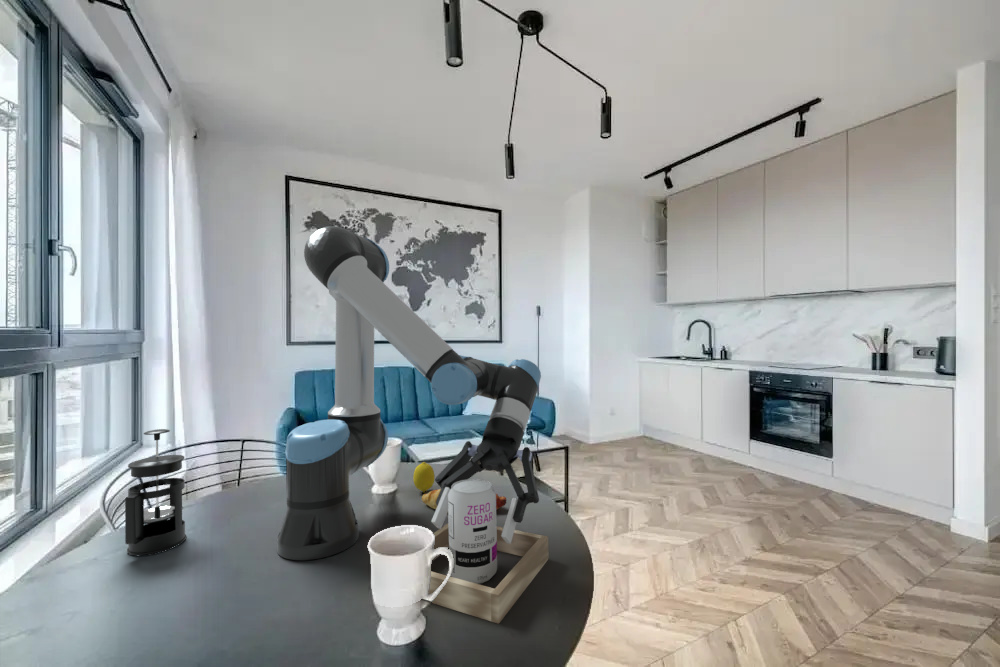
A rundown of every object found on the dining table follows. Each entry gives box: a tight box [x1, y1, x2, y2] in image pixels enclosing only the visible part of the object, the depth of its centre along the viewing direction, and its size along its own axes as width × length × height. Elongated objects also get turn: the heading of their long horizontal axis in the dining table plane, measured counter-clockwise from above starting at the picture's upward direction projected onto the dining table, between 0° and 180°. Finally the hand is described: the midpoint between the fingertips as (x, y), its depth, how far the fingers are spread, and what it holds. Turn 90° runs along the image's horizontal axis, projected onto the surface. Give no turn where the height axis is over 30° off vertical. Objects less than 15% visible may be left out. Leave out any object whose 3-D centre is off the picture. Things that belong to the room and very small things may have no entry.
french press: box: [124, 428, 187, 556], centre depth 87 cm, size 12×9×23 cm
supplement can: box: [447, 478, 498, 585], centre depth 75 cm, size 8×8×15 cm
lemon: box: [412, 461, 436, 493], centre depth 115 cm, size 6×6×8 cm
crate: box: [429, 522, 550, 625], centre depth 75 cm, size 20×20×4 cm
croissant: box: [421, 488, 507, 511], centre depth 104 cm, size 21×10×8 cm, turn 78°
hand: (469, 532), depth 73 cm, fingers open, 13 cm apart
